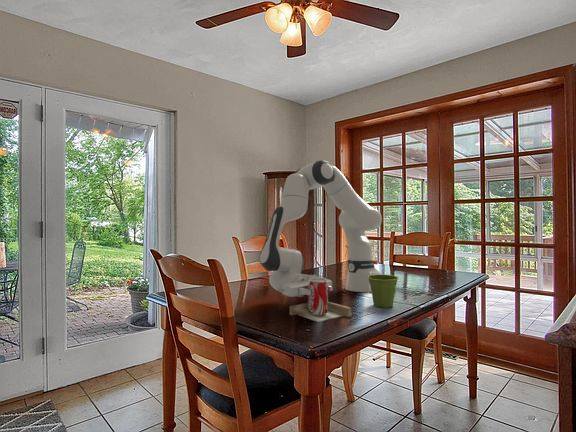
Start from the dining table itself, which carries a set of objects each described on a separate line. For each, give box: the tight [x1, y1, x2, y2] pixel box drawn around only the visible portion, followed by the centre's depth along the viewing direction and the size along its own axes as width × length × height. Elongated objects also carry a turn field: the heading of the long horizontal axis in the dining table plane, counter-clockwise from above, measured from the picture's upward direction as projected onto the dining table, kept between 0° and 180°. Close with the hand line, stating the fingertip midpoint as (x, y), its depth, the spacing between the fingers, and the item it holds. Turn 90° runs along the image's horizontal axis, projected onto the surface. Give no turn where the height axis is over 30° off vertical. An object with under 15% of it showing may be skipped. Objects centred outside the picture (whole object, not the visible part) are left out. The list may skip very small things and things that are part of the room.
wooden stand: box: [289, 301, 352, 323], centre depth 126 cm, size 16×16×3 cm
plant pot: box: [367, 273, 399, 309], centre depth 138 cm, size 12×12×11 cm
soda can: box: [307, 279, 329, 316], centre depth 126 cm, size 7×7×12 cm
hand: (321, 290), depth 125 cm, fingers open, 8 cm apart
